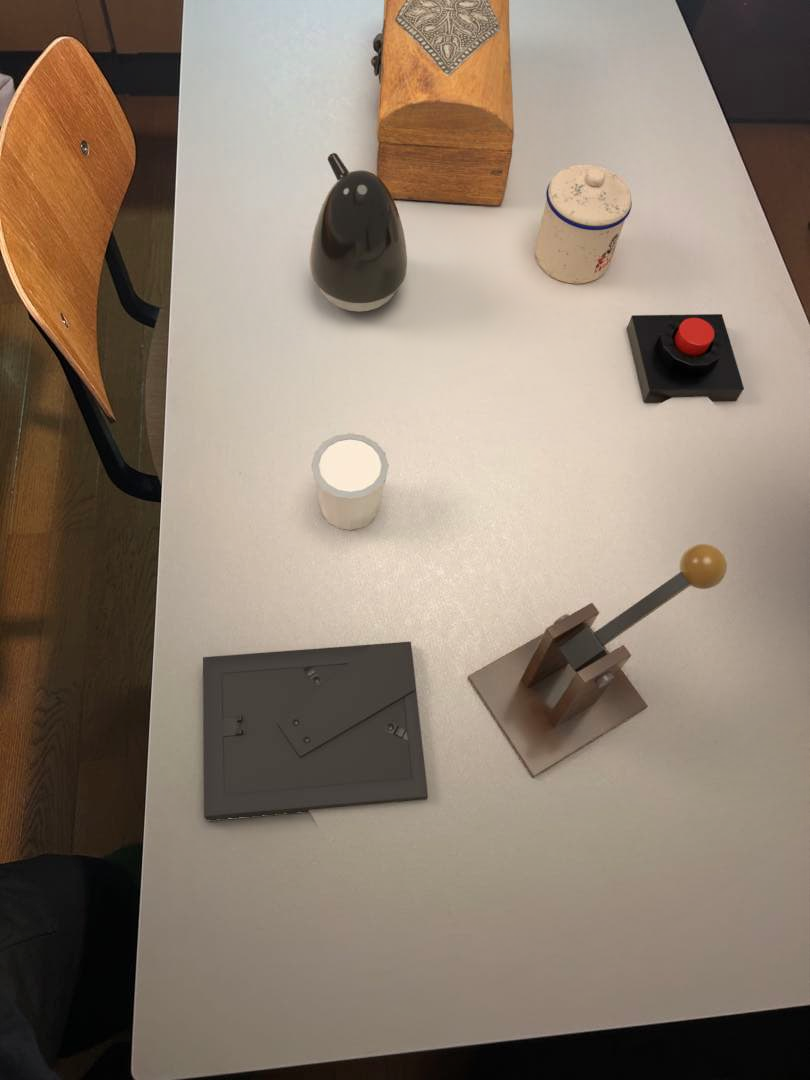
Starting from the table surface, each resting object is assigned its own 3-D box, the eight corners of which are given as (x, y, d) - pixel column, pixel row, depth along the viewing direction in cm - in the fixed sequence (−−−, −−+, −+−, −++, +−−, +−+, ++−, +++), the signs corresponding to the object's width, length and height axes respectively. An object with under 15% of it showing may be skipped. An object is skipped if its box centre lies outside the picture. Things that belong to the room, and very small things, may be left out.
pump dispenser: (370, 242, 105) (374, 126, 92) (422, 302, 102) (435, 191, 88) (292, 277, 102) (285, 162, 89) (343, 340, 98) (343, 231, 85)
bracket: (576, 619, 85) (612, 555, 74) (643, 711, 81) (691, 658, 70) (465, 681, 81) (485, 624, 70) (530, 781, 78) (562, 737, 66)
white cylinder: (298, 504, 89) (295, 464, 83) (349, 461, 91) (349, 419, 85) (350, 549, 87) (350, 512, 81) (400, 504, 89) (404, 464, 83)
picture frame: (409, 649, 82) (205, 664, 81) (411, 639, 80) (202, 655, 79) (426, 801, 76) (206, 822, 75) (428, 795, 74) (202, 816, 73)
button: (704, 328, 97) (710, 317, 96) (712, 355, 96) (718, 344, 94) (670, 329, 97) (676, 317, 96) (678, 356, 95) (683, 345, 94)
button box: (715, 327, 102) (728, 302, 99) (736, 401, 98) (751, 377, 94) (626, 328, 101) (636, 303, 98) (643, 403, 97) (655, 379, 93)
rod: (707, 541, 72) (707, 530, 69) (736, 575, 71) (736, 566, 68) (558, 646, 74) (551, 639, 71) (584, 681, 73) (578, 676, 69)
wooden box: (375, 37, 123) (379, -74, 110) (500, 47, 123) (517, -62, 111) (362, 198, 108) (364, 92, 96) (503, 209, 109) (523, 104, 97)
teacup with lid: (607, 293, 104) (636, 212, 93) (526, 278, 104) (547, 195, 94) (617, 218, 109) (645, 134, 99) (541, 204, 110) (561, 118, 100)
